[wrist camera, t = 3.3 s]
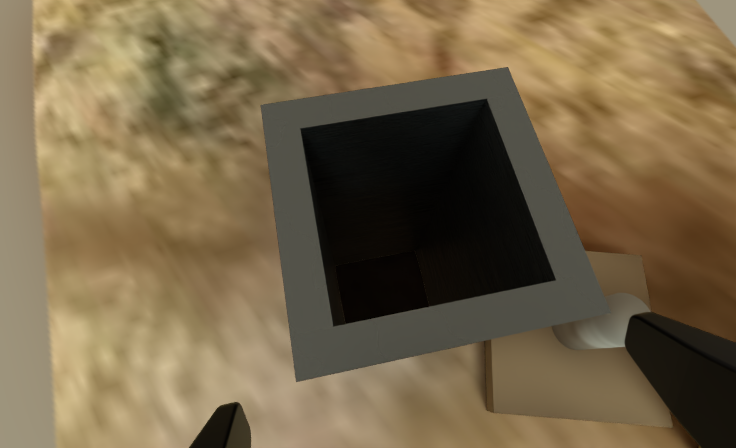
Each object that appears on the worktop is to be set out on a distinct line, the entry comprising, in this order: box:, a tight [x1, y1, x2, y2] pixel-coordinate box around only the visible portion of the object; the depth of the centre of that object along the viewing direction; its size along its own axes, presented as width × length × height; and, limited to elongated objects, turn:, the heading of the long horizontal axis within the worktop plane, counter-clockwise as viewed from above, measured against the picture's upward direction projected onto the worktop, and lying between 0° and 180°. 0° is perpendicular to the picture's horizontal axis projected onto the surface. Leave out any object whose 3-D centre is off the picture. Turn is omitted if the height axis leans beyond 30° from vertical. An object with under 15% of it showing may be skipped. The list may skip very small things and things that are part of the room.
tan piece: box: [485, 251, 673, 428], centre depth 17 cm, size 8×8×5 cm
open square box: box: [261, 67, 611, 382], centre depth 14 cm, size 6×6×12 cm
